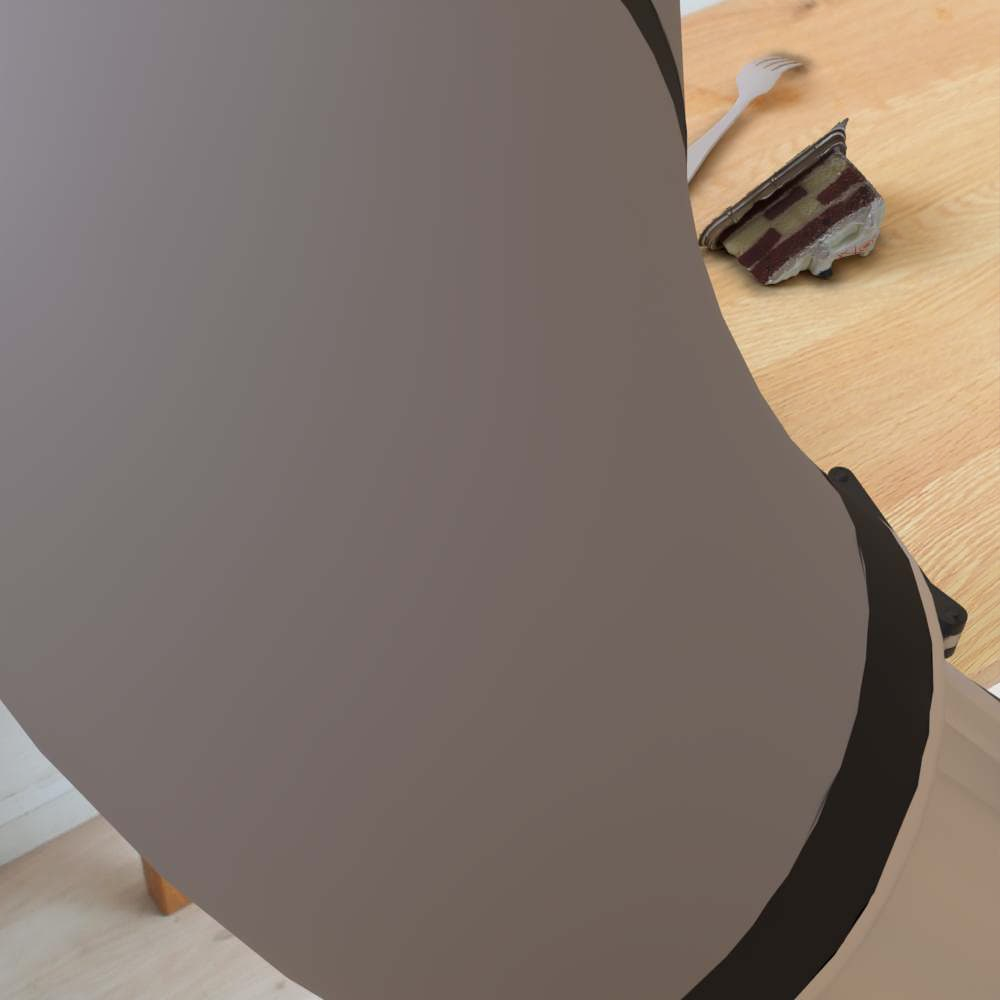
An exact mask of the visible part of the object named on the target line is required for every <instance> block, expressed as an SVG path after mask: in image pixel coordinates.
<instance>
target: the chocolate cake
mask: <svg viewBox="0 0 1000 1000" xmlns="http://www.w3.org/2000/svg"><path fill="white" fill-rule="evenodd" d="M849 120H850V119H849V117H846V118H844V119H843V120H842V121H838V123H836V124H835V125H834V126H833V127H832V128H831V129H830V130H829V131H827V132H826V133H825V134H824V135H823V136H820V137H819V138H818V139H817V140H816V141H814V142H813V143H812V144H809V145H808V146H806V147H805V148H803V149H802V150H801V151H800V152H798V153H797V154H796V155H795V156H794V157H793V158H791V159H790V160H788V161H787V162H786V163H785V164H784V165H783V166H782V167H780V168H779V169H778V170H777V171H774V172H773V174H772V175H770V176H769V177H767V178H766V180H764V181H762V182H761V183H759V184H757V185H756V186H755V187H754V188H752V189H751V190H749V191H748V192H747V193H746V194H745V196H744V197H742V198H741V199H740V200H739V201H737V202H736V203H734V205H733V206H732V205H730V206H728V207H726V208H725V209H724V210H723V211H722V212H721V213H720V214H719V215H718V216H716V217H713V218H712V219H711V221H710V222H709V223H708V224H707V225H706V226H704V229H703V230H702V232H701V233H699V234H698V244H699V247H700V248H701V247H707V248H709V249H711V250H713V251H717V250H719V249H723V248H725V249H726V251H727V252H728V253H729V254H730V255H732V256H734V257H735V258H736V259H737V262H738V263H739V264H740V265H741V266H742V267H744V268H745V269H746V271H748V272H749V273H750V274H752V276H753V277H754V278H755V280H757V282H759V283H760V284H762V285H764V286H767V285H775V284H777V283H780V282H781V281H784V280H788V279H790V278H791V277H796V276H797V275H799V273H800V272H801V271H806V270H808V271H809V272H810V273H811V274H812V275H813V276H818V277H819V278H821V279H823V280H827V279H830V278H831V277H832V276H833V275H834V271H833V269H832V264H833V262H834V261H835V260H840V259H841V258H845V257H850V256H853V255H854V256H855V255H858V256H860V257H867V256H868V255H869V254H870V252H871V251H873V249H874V248H875V246H876V241H877V239H878V236H879V234H880V233H881V226H882V223H883V222H884V219H885V216H886V208H887V207H886V206H887V205H886V201H885V199H884V197H883V195H881V194H880V193H879V192H878V190H877V189H876V188H875V186H874V185H873V183H871V181H870V180H868V179H867V177H866V176H865V175H864V174H863V173H862V172H861V171H860V169H858V168H857V166H855V164H854V163H853V162H852V161H851V160H850V159H848V157H847V149H848V146H847V143H846V140H847V134H846V129H847V128H846V127H847V125H848V122H849Z"/></svg>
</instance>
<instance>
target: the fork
mask: <svg viewBox="0 0 1000 1000" xmlns="http://www.w3.org/2000/svg"><path fill="white" fill-rule="evenodd" d="M801 66H803V63H802V62H799V63H797V62H796V61H795V60H790V59H789V58H783V57H782V56H765V57H758V58H756V59H754V60H751V61H749V62H748V63H746V64H745V65H744V66H743V67H742V68H741V70H740V71H739V72H738V74H737V76H736V78H735V84H736V87H737V88H738V89H737V90H738V97H737V99H736V100H735V102H734V104H733V105H732V107H730V109H729V110H728V111H727V112H726V113H725V114H724V115H723V116H722V117H721V119H719V121H718V122H716V123H715V124H714V125H713V126H712V127H710V129H708V130H707V132H706V133H704V134H703V135H701V136H700V137H699V138H698V139H697V140H695V141H694V142H693V143H692V144H691V145H690V146H687V179H688V185H689V184H690V182H691V181H692V179H693V178H694V177H695V175H696V174H697V172H698V171H699V169H700V168H701V166H702V165H703V163H704V162H705V160H706V158H707V157H708V155H709V154H710V152H711V151H712V149H713V148H714V147H715V145H716V144H717V143H718V142H719V141H720V139H721V138H722V137H723V136H724V134H725V133H726V132H727V131H728V130H729V129H730V128H731V126H732V125H733V123H735V121H736V120H737V119H739V117H740V116H741V114H743V112H744V111H745V110H746V108H747V107H748V105H749V104H750V103H751V101H752V100H754V99H755V98H757V97H758V96H761V95H765V94H767V93H768V92H769V91H771V89H772V88H773V87H774V86H775V84H776V83H777V81H778V80H779V79H780V78H781V76H782V74H784V73H785V72H786V71H788V70H791V69H793V68H797V67H801Z"/></svg>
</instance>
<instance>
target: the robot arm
mask: <svg viewBox="0 0 1000 1000" xmlns="http://www.w3.org/2000/svg"><path fill="white" fill-rule="evenodd" d="M681 14H682V13H681V0H0V701H1V703H2V704H3V705H4V706H5V708H6V710H7V711H8V712H9V713H10V714H11V716H12V717H13V718H14V720H15V721H16V722H17V723H18V725H19V726H20V727H21V729H22V730H23V732H24V733H25V734H26V735H27V737H28V738H29V739H30V740H31V742H32V743H33V745H34V746H35V747H36V749H37V750H38V751H39V753H41V755H42V756H43V757H45V759H46V760H48V762H49V763H50V764H51V765H52V766H53V767H54V768H55V769H56V770H57V771H58V772H59V773H60V774H61V775H62V776H63V777H64V778H65V779H66V780H67V781H68V782H69V783H70V784H71V785H72V786H73V788H75V789H76V790H77V791H78V793H80V794H81V796H82V797H83V798H85V800H86V801H87V802H88V803H89V804H90V805H91V806H92V807H93V808H94V809H95V810H96V811H97V812H98V813H99V814H100V815H101V816H102V818H104V819H105V821H107V823H109V824H110V825H111V827H112V828H113V829H115V831H116V832H117V833H118V834H119V835H120V836H121V837H122V838H123V839H124V840H125V841H126V842H127V843H128V844H129V845H130V846H131V848H133V850H135V851H136V853H138V854H139V855H140V857H141V858H142V859H143V860H144V861H145V862H146V863H147V864H148V865H149V866H150V867H151V868H152V869H153V870H154V871H155V872H156V873H157V874H158V875H159V876H160V877H161V878H162V879H163V880H164V881H166V883H168V884H169V885H171V886H172V887H173V888H174V889H176V890H177V891H178V892H179V893H181V894H182V895H183V896H184V897H186V898H187V899H188V900H189V901H191V902H192V903H193V904H195V906H196V907H198V908H200V910H202V911H203V912H205V913H206V915H208V916H209V917H211V919H213V920H214V921H216V922H217V923H218V924H219V925H221V927H223V928H224V929H226V930H227V931H228V932H229V933H230V934H232V935H233V936H234V937H235V938H237V939H238V940H239V941H241V942H242V943H243V944H244V945H245V946H247V947H248V948H249V949H250V950H252V951H253V952H254V953H256V954H257V955H258V956H259V957H261V958H262V960H264V961H265V962H266V963H268V964H269V965H270V966H271V967H273V968H274V969H275V970H277V971H278V972H279V973H280V974H282V976H284V977H285V978H287V979H288V980H290V981H291V982H293V983H295V984H297V985H298V986H300V987H302V988H303V989H305V990H307V991H308V992H310V993H311V994H313V995H315V996H317V997H318V998H319V999H322V1000H1000V697H998V696H997V695H996V694H994V693H992V692H991V691H990V690H988V689H987V688H985V687H983V686H981V685H980V684H978V683H977V682H976V681H974V680H973V679H972V678H969V677H968V676H967V675H966V674H964V673H963V672H962V671H961V670H959V669H958V668H956V667H955V666H954V665H953V664H952V663H950V662H949V661H948V660H946V659H949V658H952V656H953V655H954V654H955V651H956V649H957V647H958V644H959V641H960V639H961V636H962V634H963V631H964V629H965V626H966V624H967V622H968V617H969V614H968V611H967V609H966V608H964V606H963V605H961V604H960V603H959V602H957V601H956V600H954V599H953V598H952V597H951V596H950V595H948V594H947V593H945V592H944V591H943V590H942V589H940V588H939V587H938V586H936V585H935V584H933V583H932V582H931V580H930V579H929V577H928V576H927V574H926V573H925V572H924V571H923V569H922V568H921V566H920V565H919V563H918V562H917V560H916V558H915V557H914V556H913V555H912V553H911V552H910V550H909V549H908V548H907V546H906V545H905V543H904V542H903V541H902V539H901V537H899V534H897V533H896V532H895V530H894V528H893V527H892V526H891V524H890V523H889V521H888V520H887V519H886V517H885V516H884V514H883V513H882V511H881V510H880V509H879V507H878V506H877V504H876V503H875V502H874V501H873V499H872V498H871V496H870V495H869V494H868V492H867V491H866V489H865V488H864V487H863V485H862V484H861V482H860V481H859V480H858V478H857V476H856V475H855V474H854V472H853V471H852V470H850V469H849V468H847V467H845V466H839V465H838V466H834V467H832V468H830V469H829V470H828V471H827V472H825V471H824V470H823V469H821V467H819V466H818V465H817V464H816V463H815V462H814V461H813V460H812V459H811V458H810V457H809V456H808V455H807V454H806V453H805V452H804V451H803V450H802V448H800V446H799V445H798V444H796V443H795V441H794V440H793V439H792V438H791V436H790V435H789V433H788V432H787V430H786V429H785V427H784V426H783V424H782V423H781V421H780V420H779V418H778V416H777V415H776V414H775V412H774V410H773V409H772V407H771V406H770V404H769V403H768V401H767V400H766V399H765V397H764V395H763V394H762V392H761V390H760V389H759V387H758V385H757V383H756V380H755V378H754V377H753V375H752V374H753V373H751V371H750V368H749V366H748V364H747V362H746V361H745V358H744V356H743V354H742V352H741V350H740V348H739V346H738V344H737V342H736V340H735V338H734V336H733V334H732V332H731V330H730V328H729V325H728V324H727V321H726V320H725V318H724V316H723V314H722V310H721V308H720V305H719V302H718V298H717V296H716V292H715V289H714V286H713V283H712V281H711V278H710V274H709V271H708V268H707V265H706V262H705V259H704V257H703V253H702V250H701V247H699V244H698V240H699V238H698V233H697V229H696V224H695V223H696V222H695V218H694V217H695V216H694V212H693V208H692V203H691V202H692V201H691V197H690V192H689V191H690V190H689V184H688V179H687V148H688V126H687V117H686V99H685V98H686V97H685V77H684V75H685V74H684V57H683V56H684V55H683V36H682V35H683V34H682V15H681Z"/></svg>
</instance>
